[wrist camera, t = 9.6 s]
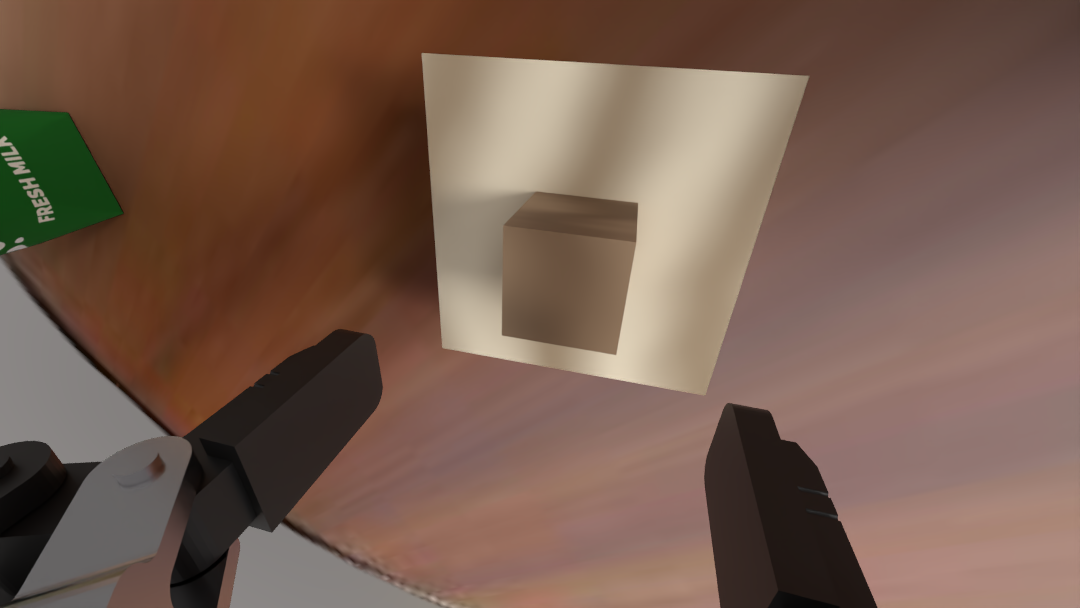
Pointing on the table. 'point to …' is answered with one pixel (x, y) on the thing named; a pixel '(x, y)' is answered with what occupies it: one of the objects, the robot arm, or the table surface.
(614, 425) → the table surface
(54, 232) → the milk carton
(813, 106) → the table surface
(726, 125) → the birch lid
